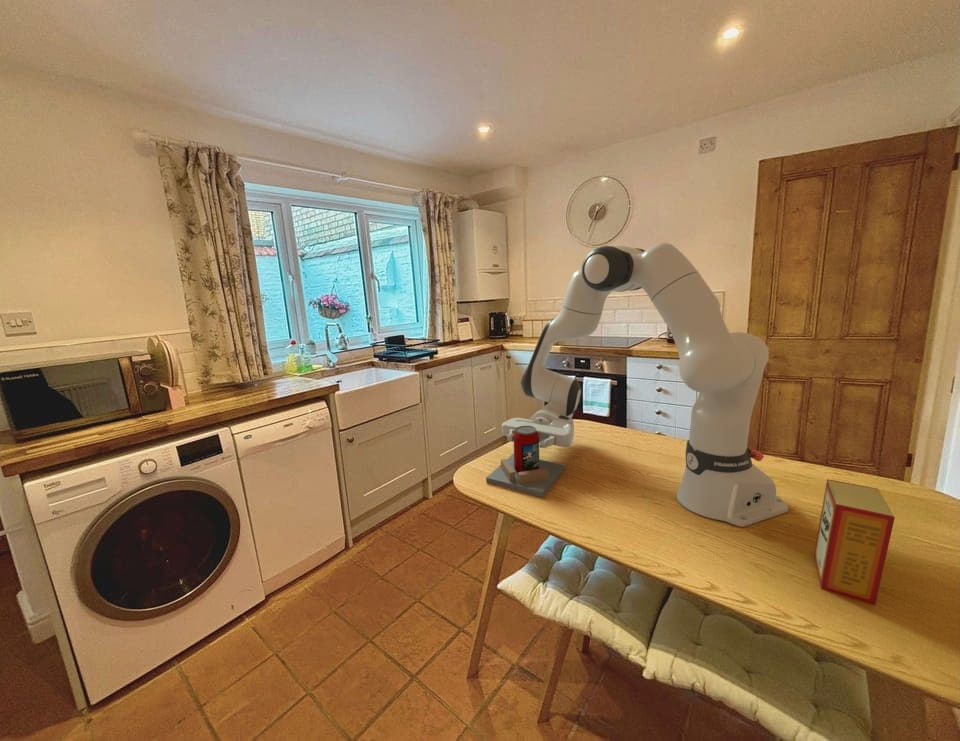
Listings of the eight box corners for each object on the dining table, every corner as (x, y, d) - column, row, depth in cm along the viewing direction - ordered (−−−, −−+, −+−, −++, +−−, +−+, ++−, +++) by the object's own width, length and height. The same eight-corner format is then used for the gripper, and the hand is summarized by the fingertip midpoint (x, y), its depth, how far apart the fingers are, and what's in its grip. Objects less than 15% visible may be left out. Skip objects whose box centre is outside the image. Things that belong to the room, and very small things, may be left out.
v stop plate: (513, 458, 117) (512, 446, 116) (564, 469, 109) (564, 456, 108) (486, 482, 104) (485, 468, 103) (542, 497, 96) (542, 482, 95)
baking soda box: (813, 555, 73) (827, 477, 69) (861, 568, 70) (878, 486, 66) (821, 588, 66) (836, 503, 62) (875, 605, 62) (895, 515, 58)
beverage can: (531, 479, 102) (530, 436, 99) (509, 472, 106) (508, 430, 103) (543, 468, 107) (543, 427, 104) (522, 462, 111) (521, 423, 108)
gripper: (513, 409, 120) (491, 424, 109) (578, 419, 110) (562, 437, 98) (513, 429, 122) (491, 445, 110) (578, 440, 111) (561, 460, 100)
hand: (525, 442), depth 104 cm, fingers open, 8 cm apart
